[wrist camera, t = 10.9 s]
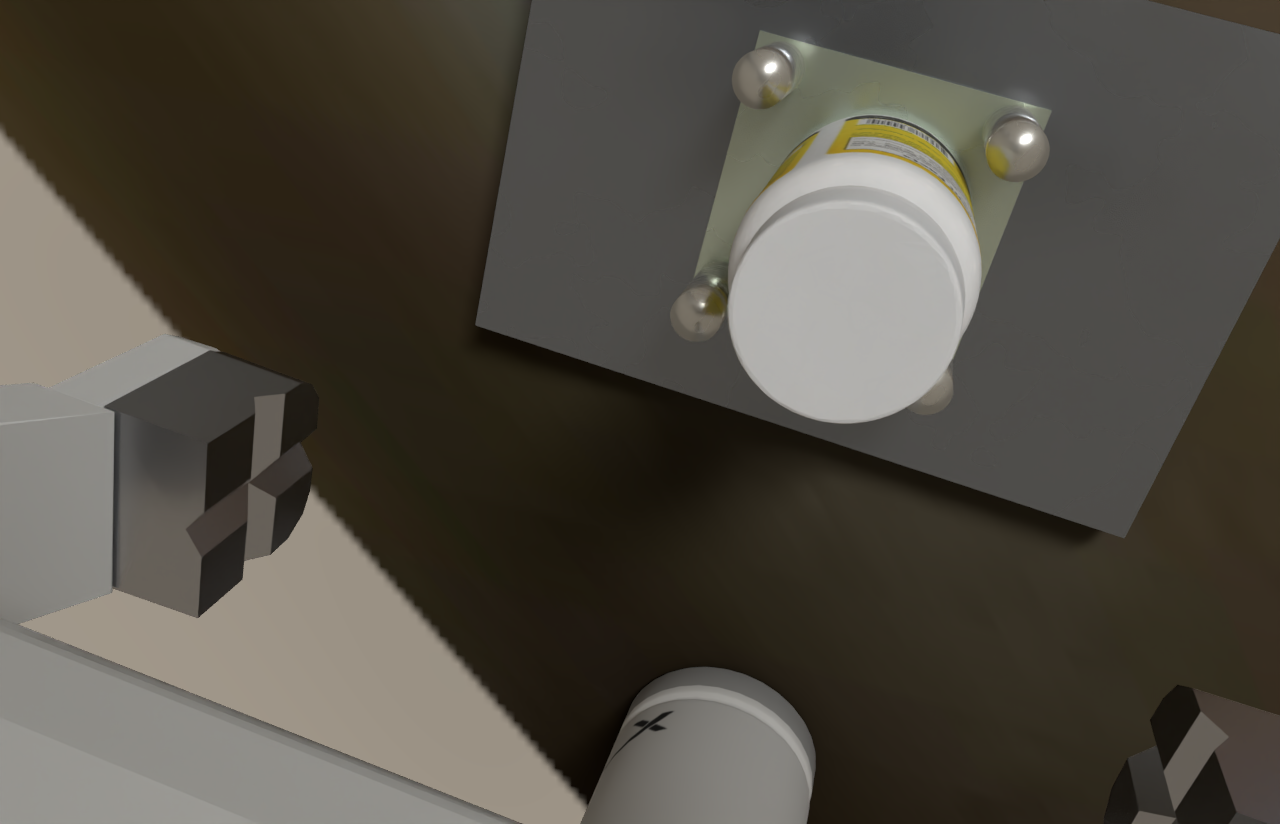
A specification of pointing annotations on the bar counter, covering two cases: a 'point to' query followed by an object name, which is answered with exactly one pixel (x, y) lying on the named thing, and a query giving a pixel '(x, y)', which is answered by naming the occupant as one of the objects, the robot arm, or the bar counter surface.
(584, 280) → the grey fixture plate
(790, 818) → the travel mug
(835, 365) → the supplement bottle
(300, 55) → the bar counter surface
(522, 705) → the bar counter surface
